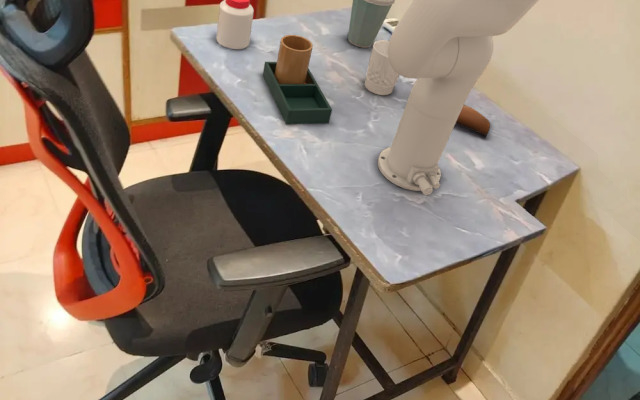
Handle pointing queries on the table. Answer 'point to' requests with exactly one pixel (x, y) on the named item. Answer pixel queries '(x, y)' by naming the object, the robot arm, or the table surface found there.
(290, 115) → the divided tray
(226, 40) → the pill bottle
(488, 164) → the table surface
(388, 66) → the white cup
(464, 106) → the sunglasses case
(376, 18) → the disposable coffee cup
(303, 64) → the wooden cup
